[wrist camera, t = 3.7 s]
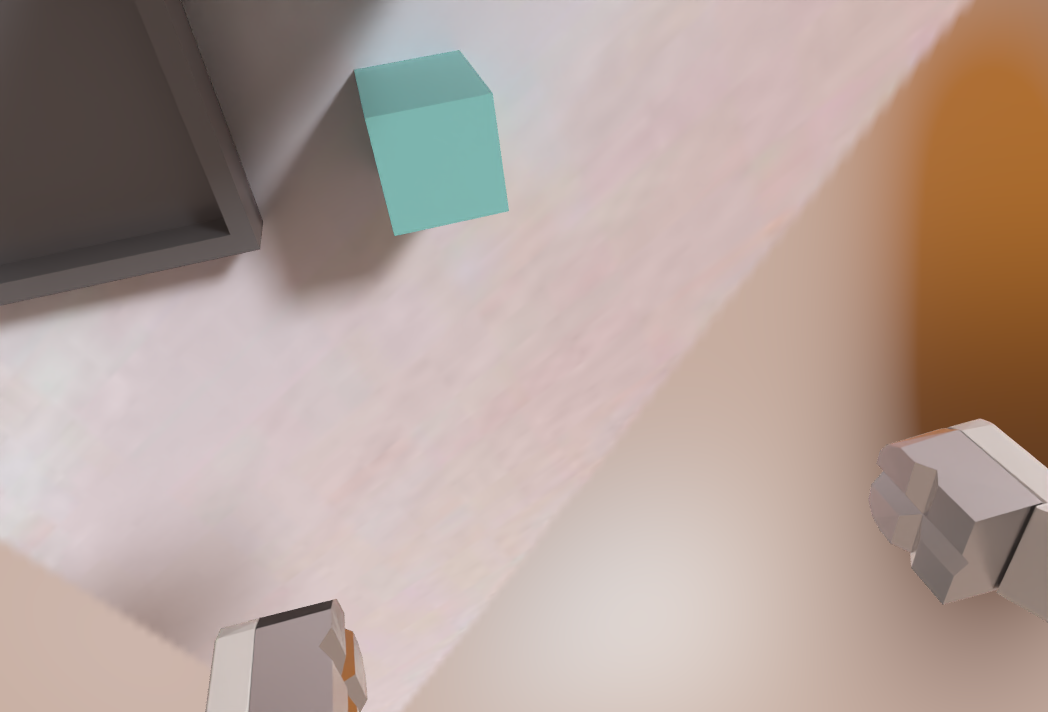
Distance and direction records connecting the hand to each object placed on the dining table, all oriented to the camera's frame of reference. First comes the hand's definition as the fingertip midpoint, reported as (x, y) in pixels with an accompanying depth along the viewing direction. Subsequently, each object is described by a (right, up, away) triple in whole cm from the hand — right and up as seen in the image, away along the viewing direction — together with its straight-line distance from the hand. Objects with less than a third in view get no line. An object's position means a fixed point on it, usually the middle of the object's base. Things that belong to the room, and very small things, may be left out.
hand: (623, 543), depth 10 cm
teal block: (-6, +12, +17) cm, 22 cm away
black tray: (-18, +11, +14) cm, 26 cm away
